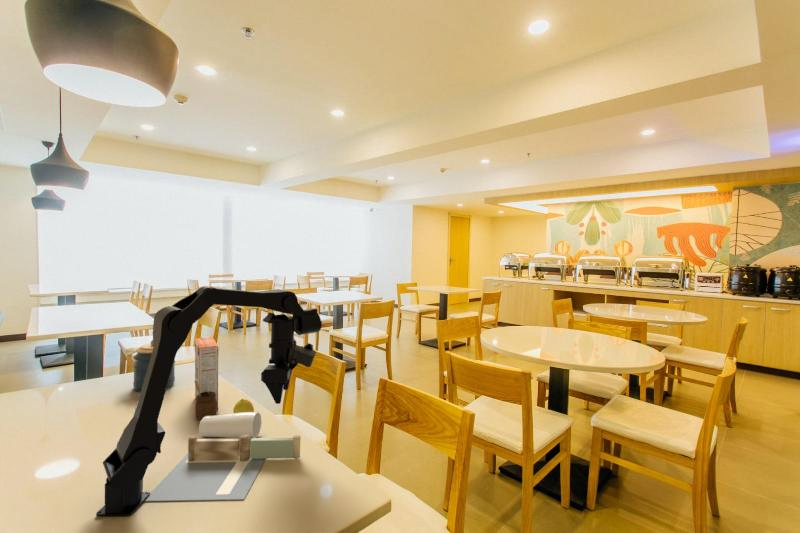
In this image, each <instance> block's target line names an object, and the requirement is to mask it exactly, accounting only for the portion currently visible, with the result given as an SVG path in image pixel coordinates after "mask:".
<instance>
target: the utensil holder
mask: <svg viewBox="0 0 800 533" xmlns="http://www.w3.org/2000/svg"><path fill="white" fill-rule="evenodd" d="M211 381H212V380H211ZM211 381H210V382H211ZM215 381H216V380H215ZM212 382H213V381H212ZM216 383H217V382H216ZM210 384H211V383H210ZM195 385H196V389H197V391H198V393H199V394H198V395H197V401H195V406H194V407H195V409H194V411H195V412H194V413H195V414H194V416H195V419H196V420H197V421H201V420H202V418H203V417H205V416H214V415H217V414H218V409H217V400H216V398H215V397H216V394H215V392H212V391H208V392H202V393H200V388H199V385H198V382H196V381H195V380H194V386H195ZM208 385H209V384H208ZM213 385H214V384H213ZM216 385H217V384H216ZM211 386H212V385H211ZM214 386H215V385H214ZM208 388H209V387H208ZM213 391H214V390H213Z"/></svg>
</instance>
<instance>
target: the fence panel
mask: <svg viewBox="0 0 800 533" xmlns="http://www.w3.org/2000/svg"><path fill="white" fill-rule="evenodd" d="M262 458H266V459H295V460H298V459H299V458H301V436H300V435H294V436H293V437H256V438H250V459H262Z"/></svg>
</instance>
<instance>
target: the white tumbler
mask: <svg viewBox="0 0 800 533" xmlns="http://www.w3.org/2000/svg"><path fill="white" fill-rule="evenodd" d="M262 421H263V420H262V415H261V413H260V412H259V411H254V412H241V413H233V412H232V413H227V414H226V413H225V414H224V413H223V414H218V415H217V414H216V415H214V416H205V417H203V418H202V420H200V422H199V425H198V433H199V436H200V437H203V438H221V439H240V436H242V435H244V434H249V435H250V439H252V438H258V436H259V434H260V433H261V428H262Z"/></svg>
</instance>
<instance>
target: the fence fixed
mask: <svg viewBox="0 0 800 533" xmlns="http://www.w3.org/2000/svg"><path fill="white" fill-rule="evenodd" d="M187 443H188V445H187V446H188V447H187V449H188V450H187V452H188V461H203V460H238V459H239V457H240V461H247V460H249V459H250V443H251V438H250V435H249V434H244V435H242V436H240V439H236V438H198V436H197V435H191V436H189V437H188V442H187Z"/></svg>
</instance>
